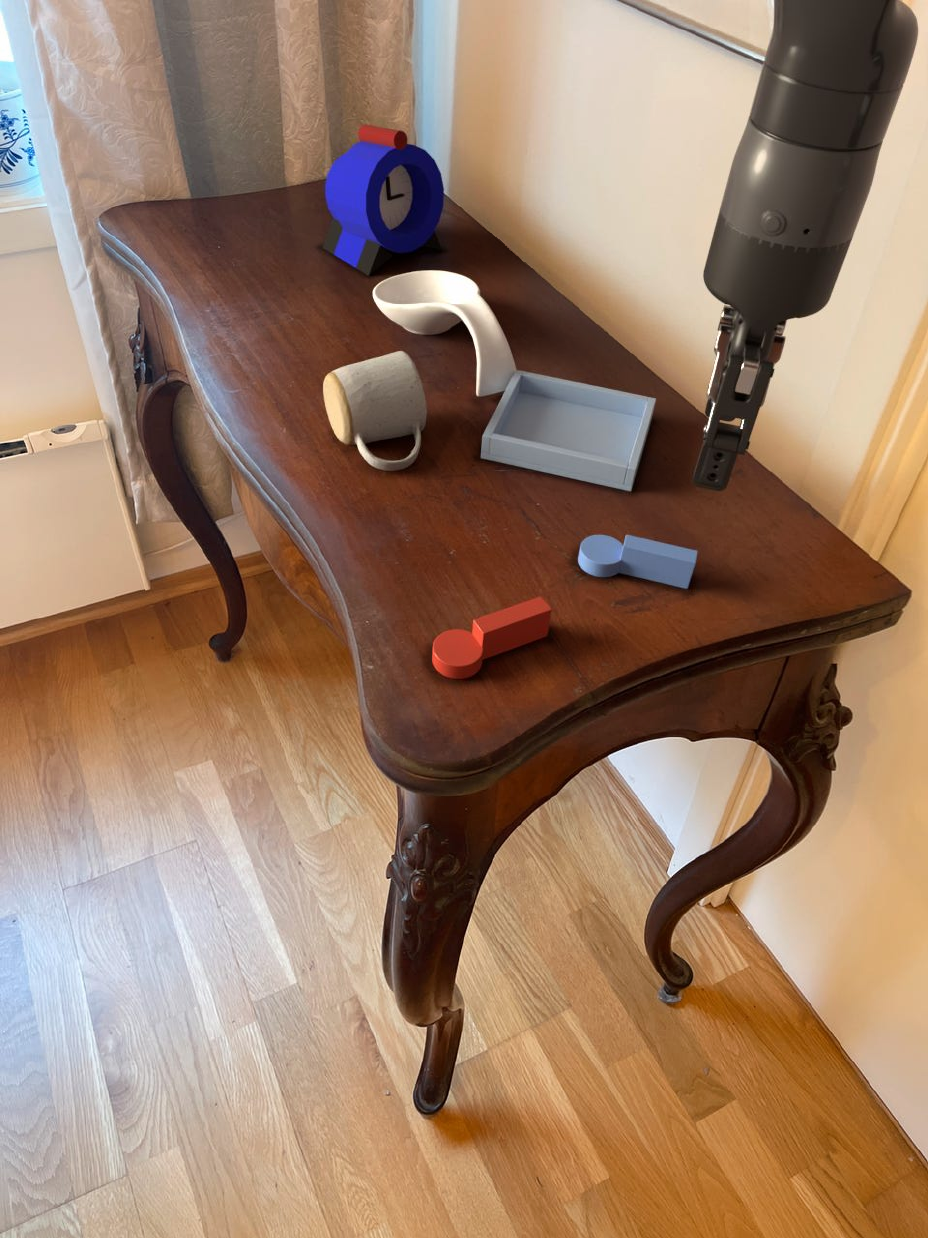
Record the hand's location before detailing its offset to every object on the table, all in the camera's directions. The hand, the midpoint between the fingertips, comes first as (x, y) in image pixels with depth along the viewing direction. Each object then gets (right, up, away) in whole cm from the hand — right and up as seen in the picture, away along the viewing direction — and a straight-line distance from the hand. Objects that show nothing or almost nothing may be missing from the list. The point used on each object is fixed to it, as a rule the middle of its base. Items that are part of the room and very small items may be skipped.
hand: (713, 449), depth 64 cm
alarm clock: (-28, +36, +56) cm, 72 cm away
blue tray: (-7, +6, +28) cm, 30 cm away
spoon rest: (-19, +19, +40) cm, 48 cm away
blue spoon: (-3, -7, +15) cm, 17 cm away
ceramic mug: (-25, +6, +26) cm, 37 cm away
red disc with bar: (-15, -14, +8) cm, 22 cm away
